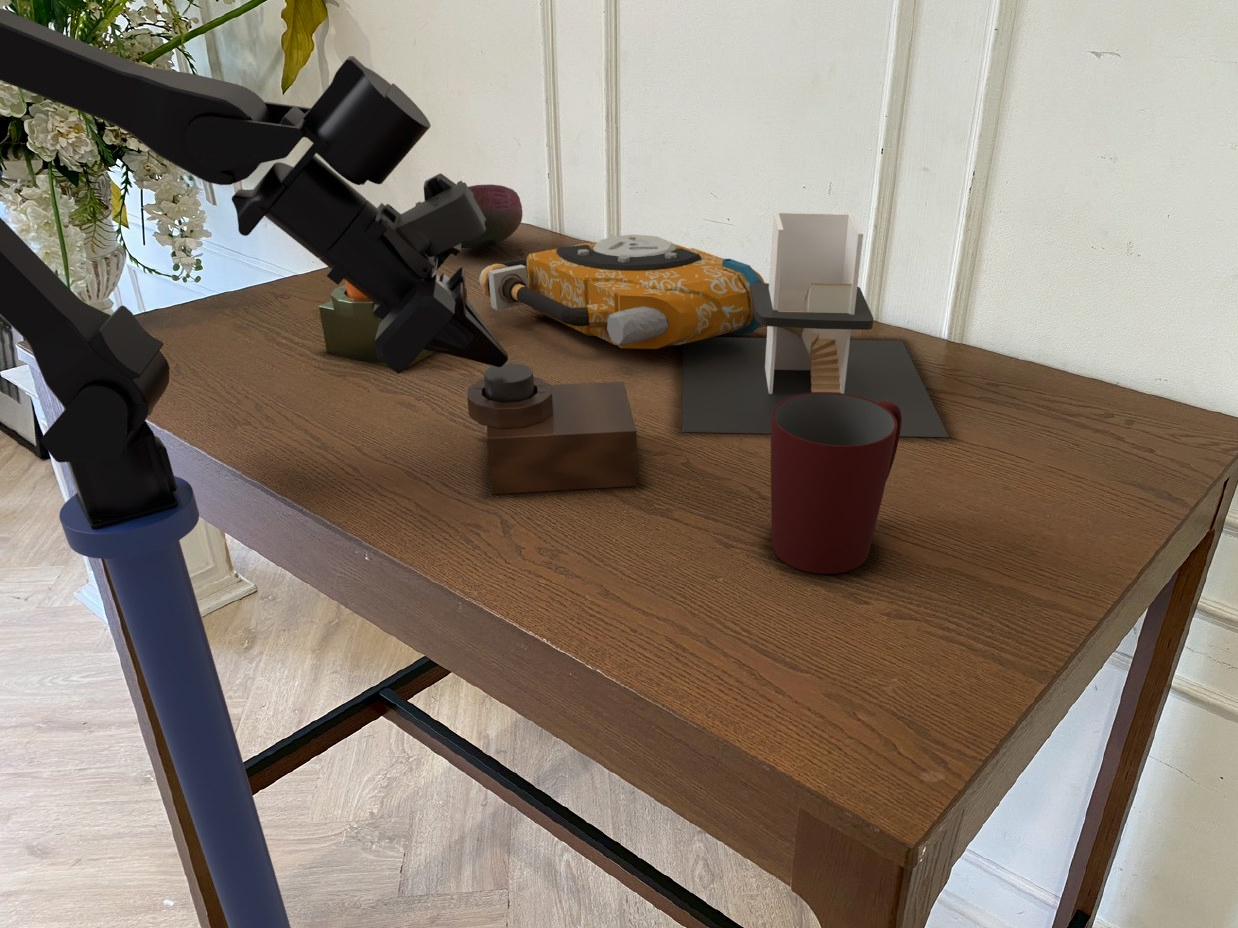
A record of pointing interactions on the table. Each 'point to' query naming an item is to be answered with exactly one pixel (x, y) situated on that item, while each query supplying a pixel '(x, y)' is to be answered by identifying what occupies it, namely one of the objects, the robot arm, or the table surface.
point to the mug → (829, 477)
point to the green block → (353, 328)
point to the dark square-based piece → (803, 340)
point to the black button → (509, 383)
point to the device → (630, 290)
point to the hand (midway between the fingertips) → (504, 361)
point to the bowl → (496, 214)
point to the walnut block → (558, 437)
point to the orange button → (354, 292)
